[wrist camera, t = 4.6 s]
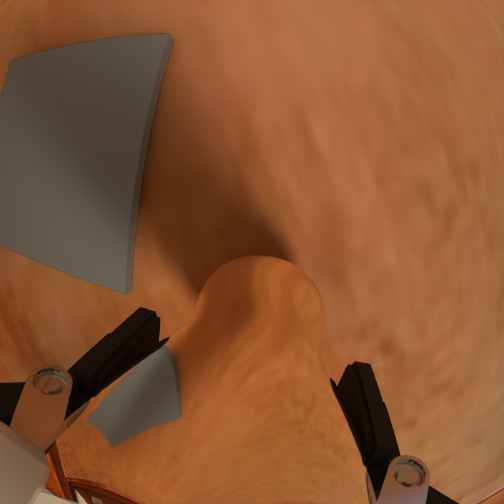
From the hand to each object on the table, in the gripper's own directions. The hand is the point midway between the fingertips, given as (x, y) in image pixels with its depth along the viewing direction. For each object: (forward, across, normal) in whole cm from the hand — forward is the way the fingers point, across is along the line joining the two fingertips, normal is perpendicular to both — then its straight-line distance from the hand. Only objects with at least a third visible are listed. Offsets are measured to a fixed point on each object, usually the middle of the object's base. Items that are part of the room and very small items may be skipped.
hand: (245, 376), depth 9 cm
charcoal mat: (+7, +15, -6) cm, 18 cm away
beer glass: (+5, 0, 0) cm, 5 cm away
